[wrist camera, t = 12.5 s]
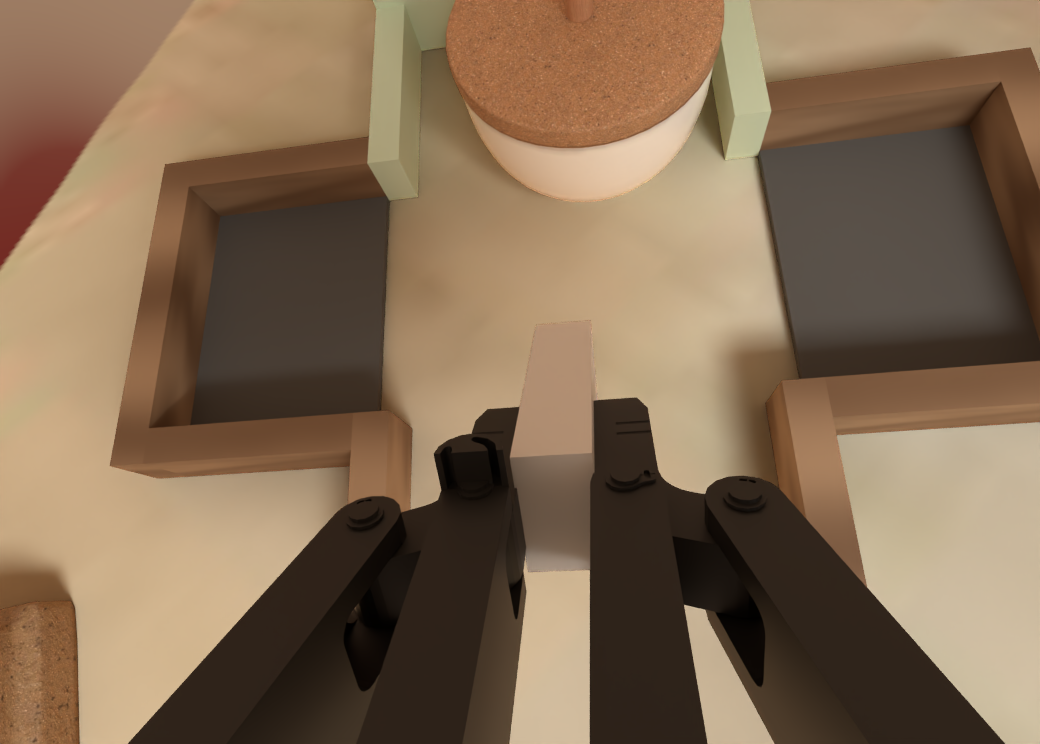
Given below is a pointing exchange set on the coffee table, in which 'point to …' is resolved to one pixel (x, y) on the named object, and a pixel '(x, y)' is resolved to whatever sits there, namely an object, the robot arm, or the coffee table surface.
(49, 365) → the coffee table surface
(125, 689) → the coffee table surface
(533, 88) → the lidded jar
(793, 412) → the track
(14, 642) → the candle holder
